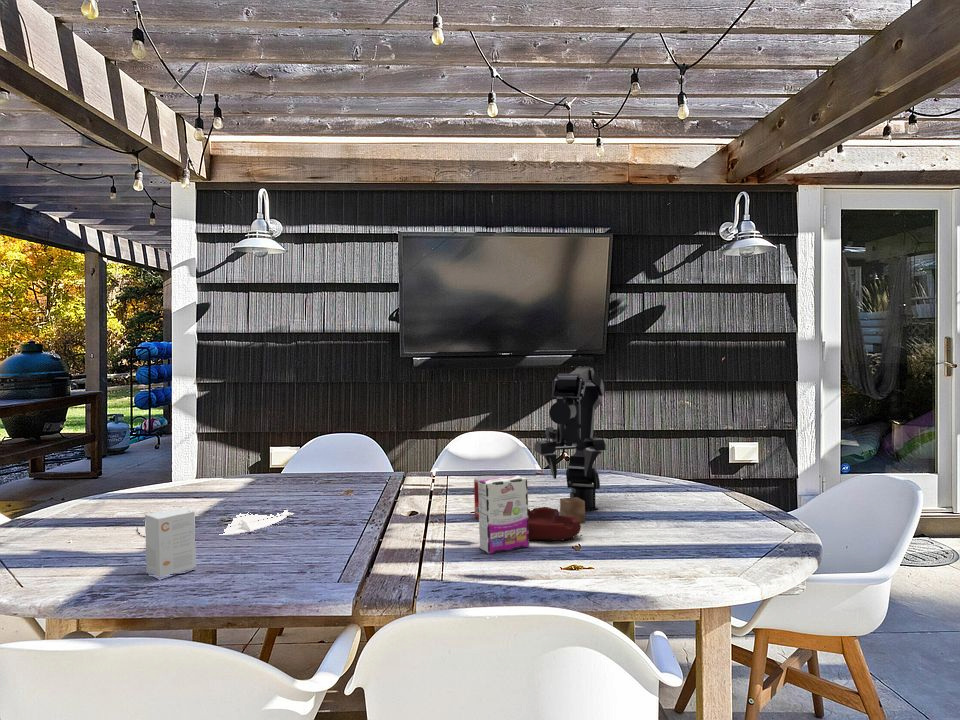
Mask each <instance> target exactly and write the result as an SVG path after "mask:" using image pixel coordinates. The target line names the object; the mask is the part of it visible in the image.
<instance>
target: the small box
mask: <svg viewBox="0 0 960 720" xmlns="http://www.w3.org/2000/svg"><path fill="white" fill-rule="evenodd" d="M144 520H145V534H146V538H145V560H146V561H145V562H146V572H147V571H148V572H150V573H152V574H154V575H156V576H159V577H161V576H165V575H170V574H173V573H177V572H181V571H185V570H188V569H191V568H194V567H196V568H197V549H196V548H197V547H196V546H197V543H196V542H197V541H195V511H192V510H189V509H186V507H176V508H172V509H166V510H161V511H156V512H151V513H146V514H144Z"/></svg>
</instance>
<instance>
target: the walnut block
mask: <svg viewBox="0 0 960 720" xmlns="http://www.w3.org/2000/svg"><path fill="white" fill-rule="evenodd" d="M559 505H560V506H559V510H560V513H559V515H561V516H572V517H576V518H577V519H578V520H579V522H580V525H581V524H582V525H583V524H586V511H585V501H584V500H582V499H580V498H578V497H573V498H570V497H564V498H563V497H561V498H559Z"/></svg>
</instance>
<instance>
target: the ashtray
mask: <svg viewBox="0 0 960 720" xmlns="http://www.w3.org/2000/svg"><path fill="white" fill-rule="evenodd" d="M528 525H529V541H533V540H534V541H536V540H537V541H542V540H543V541H545V540H546V541H549V540H550V541H558V540H559V541H561V540H562V541H566V542H570V541H573V540H574V537H577V536H578V535H579V533H580V531H581V527H582V526H581V524H580V522H579V520H578V519H577V518H576V517H572V516H561V515H560V513H559V509H557V508H552V507H548V506H547V507H546V506H542V507H534V508H533V509H532V510H531V509H529V508H528Z"/></svg>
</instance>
